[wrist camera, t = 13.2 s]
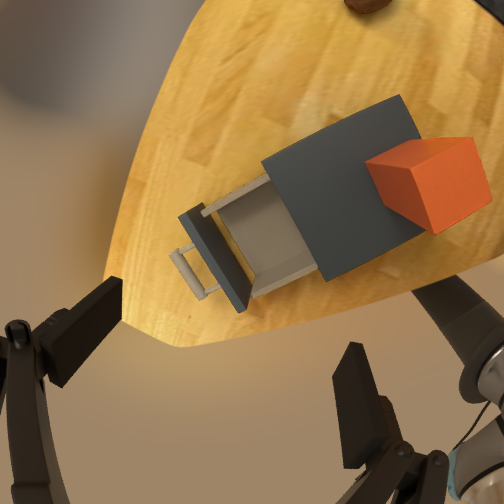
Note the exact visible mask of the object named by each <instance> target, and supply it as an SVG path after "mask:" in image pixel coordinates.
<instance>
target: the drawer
mask: <svg viewBox="0 0 504 504" xmlns="http://www.w3.org/2000/svg"><path fill="white" fill-rule="evenodd" d="M215 211H217V212H218V214H219V216H220V217H221V219H222V221H223V222H224V224H225V226H226V228H227V229H228V231H229V233H230V234H231V236H232V238H233V239H234V241H235V243H236V244H237V246H238V248H239V249H240V251H241V253H242V254H243V256H244V258H245V259H246V261H247V263H248V264H249V266H250V268H251V269H252V271H253V273H254V274H255V279H254V283H253V286H252V284H251V282H250V281H249V279H248V277H247V276H246V274H245V272H244V271H243V269H242V267H241V266H240V264H239V263H238V261H237V259H236V258H235V256H234V254H233V253H232V251H231V249H230V248H229V246H228V244H227V243H226V241H225V239H224V238H223V236H222V234H221V233H220V231H219V229H218V228H217V226H216V224H215V223H214V221H213V219H212V218H211V216H210V214H211V213H213V212H215ZM178 219H179V220H180V222H181V223H182V225H183V227H184V228H185V230H186V232H187V233H188V235H189V237H190V238H191V240H192V243H190V244H188V245H186V246H185V247H183V248H181V249H179V248H177V249H176V250H174V251H172V252H171V253H170V254H169V256H170V258H171V259H172V261H173V262H174V264H175V266H176V267H177V269H178V270H179V272H180V273H181V275H182V276H183V278H184V279H185V281H186V282H187V284H188V286H189V287H190V289H191V290H192V292H193V293H194V295H195V296H196V297H197V299H198V300H199V301H200V300H203V299H204V298H206V297H207V296H208V294H209V293H211V292H213V291H215V290H217V289H220V288H222V289H223V291H224V292H225V294H226V295H227V297H228V298H229V300H230V301H231V303H232V304H233V306H234V308H235V309H236V311H237V312H238V313H241V312H243V311H245V310H247V306H248V302H249V299H250V295H252V297H253V299H255V298H257V297H260V296H262V295H264V294H266V293H268V292H270V291H273V290H275V289H277V288H279V287H281V286H283V285H285V284H288V283H290V282H292V281H294V280H296V279H298V278H300V277H302V276H304V275H306V274H308V273H311V272H313V271H315V270H317V269H319V268H318V266H317V264H316V262H315V260H314V258H313V256H312V254H311V252H310V250H309V248H308V246H307V245H306V243H305V241H304V239H303V237H302V235H301V233H300V231H299V229H298V228H297V226H296V224H295V222H294V220H293V218H292V217H291V215H290V213H289V211H288V209H287V207H286V206H285V204H284V202H283V200H282V198H281V196H280V195H279V193H278V191H277V189H276V188H275V186H274V184H273V182H272V180H271V179H270V177H269V175H268V173H267V172H266V173H265V174H263V175H261V176H259V177H257V178H255V179H254V180H252V181H250V182H248V183H247V184H245V185H243V186H241V187H239V188H238V189H236V190H234V191H232V192H231V193H229V194H227V195H225V196H224V197H222V198H220V199H219V200H217V201H215V202H214V203H212V204H211V205H209V206H208V207H206V208H205V206H204V204H203V203H200V204H198V205H197V206H195V207H193V208H192V209H190V210H188V211H187V212H185V213H184V214H182V215H180V216H179V217H178ZM195 246H196V248H197V250H198V251H199V253H200V254H201V256H202V258H203V259H204V261H205V262H206V264H207V266H208V267H209V269H210V270H211V272H212V273H213V275H214V277H215V278H216V280H217V281H218V283H217V284H215V285H213V286H211V287H209V288H207V289H205V288H204V287H203V285H202V284H201V282H200V281H199V279H198V278H197V276H196V275H195V273H194V272H193V270H192V268H191V267H190V265H189V264H188V262H187V261H186V259H185V257H184V256H183V253H185V252H187V251H188V250H190V249H192V248H194V247H195Z"/></svg>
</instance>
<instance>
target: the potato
mask: <svg viewBox="0 0 504 504" xmlns="http://www.w3.org/2000/svg"><path fill="white" fill-rule="evenodd" d="M344 1H345V4H346V5H347V6H348V7H349V8H350V9H351V10H353V11H354V12H357V13H361V14H365V13H370V12H373V11H376V10H378V9H380V8H382V7H384V6H386V5H388V4H389V3H390V2H391V1H392V0H344Z"/></svg>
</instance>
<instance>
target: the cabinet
mask: <svg viewBox="0 0 504 504" xmlns="http://www.w3.org/2000/svg"><path fill="white" fill-rule="evenodd" d="M413 139H421V136H420V134H419V132H418V130H417V128H416V126H415V124H414V121H413V119H412V117H411V115H410V113H409V111H408V109H407V107H406V106H405V104H404V102H403V100H402V98H401V96H400V94H398V95H396V96H393V97H391V98H389V99H386V100H384V101H382V102H380V103H377V104H375V105H373V106H371V107H368V108H366V109H364V110H362V111H360V112H357V113H355V114H353V115H351V116H349V117H347V118H345V119H342V120H340V121H338V122H336V123H334V124H332V125H330V126H328V127H326V128H324V129H322V130H320V131H318V132H316V133H314V134H312V135H310V136H308V137H306V138H304V139H302V140H300V141H298V142H296V143H294V144H292V145H291V146H289V147H287V148H285V149H283V150H281V151H279V152H277V153H276V154H274V155H272V156H270V157H268V158H266V159H265V160H263V161H261V163H262V165H263V166H264V168H265V170H266V172H267V173H268V175H269V177H270V179H271V180H272V182H273V184H274V186H275V188H276V189H277V191H278V193H279V195H280V196H281V198H282V200H283V202H284V204H285V206H286V207H287V209H288V211H289V213H290V215H291V217H292V218H293V220H294V222H295V224H296V226H297V228H298V229H299V231H300V233H301V235H302V237H303V239H304V241H305V243H306V245H307V246H308V248H309V250H310V252H311V254H312V256H313V258H314V260H315V262H316V264H317V266H318V268H319V270H320V272H321V274H322V276H323V278H324V280H325V282H328V281H330V280H332V279H334V278H336V277H338V276H340V275H342V274H344V273H346V272H348V271H350V270H352V269H354V268H356V267H358V266H360V265H362V264H364V263H366V262H368V261H370V260H372V259H374V258H376V257H378V256H380V255H381V254H383V253H385V252H387V251H389V250H391V249H393V248H395V247H397V246H399V245H400V244H402V243H404V242H406V241H408V240H410V239H412V238H413V237H415V236H417V235H419V234H421V233H422V232H424V231H426V230H425V229H424V228H422V227H420V226H419V225H417V224H415V223H414V222H412V221H411V220H409V219H407V218H406V217H404V216H402V215H401V214H399V213H397V212H395V211H394V210H392V209H390V208H389V207H387V206H385V205H384V204H383V201H382V199H381V197H380V194H379V192H378V190H377V188H376V186H375V183H374V181H373V179H372V177H371V175H370V173H369V171H368V168H367V166H366V164H365V161H367V160H369V159H371V158H374V157H376V156H378V155H380V154H382V153H384V152H386V151H388V150H390V149H392V148H394V147H396V146H398V145H400V144H402V143H404V142H406V141H408V140H413Z"/></svg>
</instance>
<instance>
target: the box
mask: <svg viewBox="0 0 504 504" xmlns="http://www.w3.org/2000/svg"><path fill="white" fill-rule="evenodd" d="M365 164H366V166H367V168H368V171H369V173H370V175H371V177H372V179H373V181H374V183H375V186H376V188H377V190H378V192H379V194H380V197H381V199H382V201H383V204H384V205H385V206H387V207H389V208H390V209H392V210H394V211H395V212H397V213H399V214H401V215H402V216H404V217H406V218H407V219H409V220H411V221H412V222H414V223H415V224H417V225H419V226H420V227H422V228H424V229H425V230H427V231H428V232H430V233H431V234H433V235H437V234H438V233H440V232H442V231H444V230H445V229H447V228H449V227H451V226H452V225H454V224H456V223H457V222H459V221H461V220H462V219H464V218H466V217H467V216H469V215H471V214H472V213H474V212H476V211H477V210H479V209H480V208H482V207H484V206H485V205H487V204H488V203H490V202H492V197H491V193H490V190H489V186H488V182H487V179H486V176H485V172H484V169H483V166H482V163H481V160H480V157H479V154H478V151H477V148H476V145H475V143H474V140H473V137H452V138H429V139H413V140H408V141H406V142H404V143H402V144H400V145H398V146H396V147H394V148H392V149H390V150H388V151H386V152H384V153H382V154H380V155H378V156H376V157H374V158H371V159H369V160H367V161H365Z"/></svg>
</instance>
